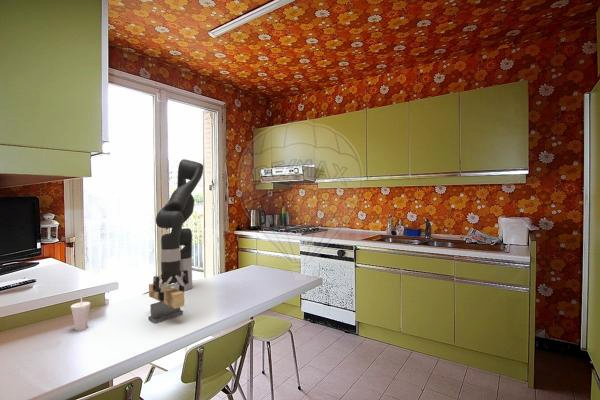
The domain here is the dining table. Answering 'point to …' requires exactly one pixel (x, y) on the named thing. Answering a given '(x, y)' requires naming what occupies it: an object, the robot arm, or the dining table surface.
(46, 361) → the dining table surface
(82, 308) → the smoothie
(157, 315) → the ridge
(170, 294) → the oak beam
